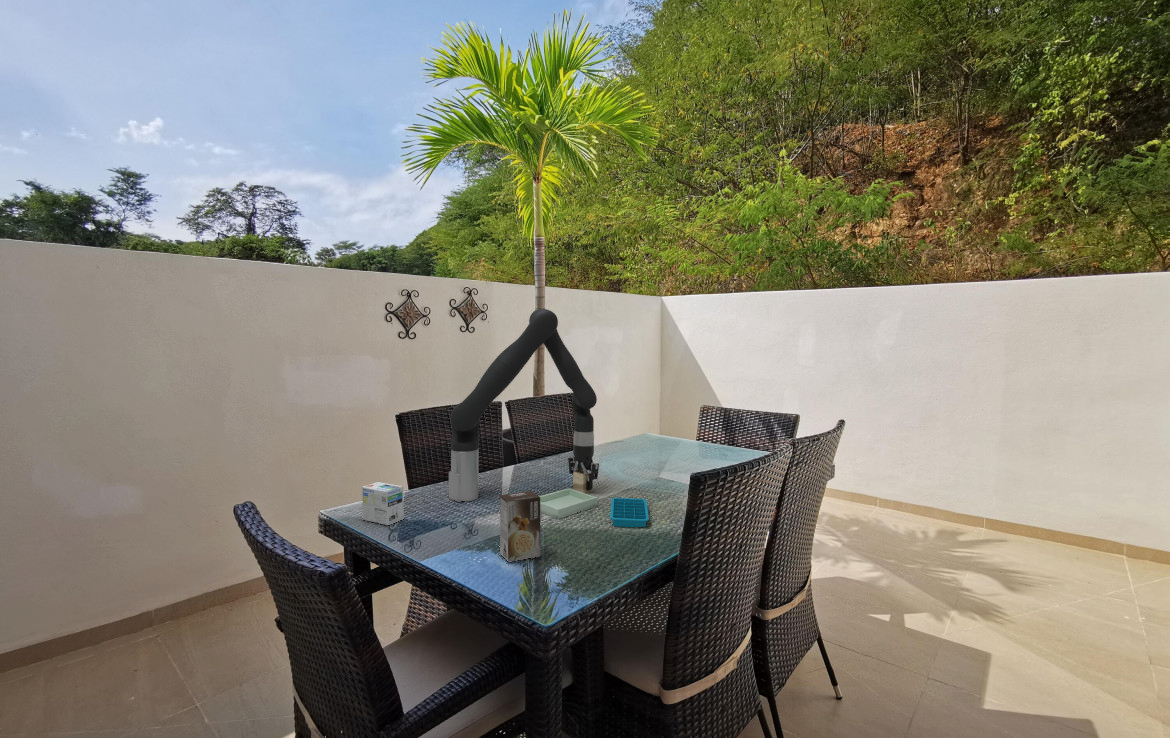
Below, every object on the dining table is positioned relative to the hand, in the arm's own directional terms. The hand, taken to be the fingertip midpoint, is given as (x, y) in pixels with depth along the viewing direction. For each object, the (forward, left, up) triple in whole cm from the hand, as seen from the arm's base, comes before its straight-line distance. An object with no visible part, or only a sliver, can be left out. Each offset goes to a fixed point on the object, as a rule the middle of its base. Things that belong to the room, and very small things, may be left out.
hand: (582, 488), depth 193 cm
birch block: (0, 0, -1) cm, 1 cm away
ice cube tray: (-7, -28, -2) cm, 29 cm away
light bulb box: (-66, +20, -1) cm, 69 cm away
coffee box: (-51, -28, -1) cm, 58 cm away
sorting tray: (-17, -8, -1) cm, 19 cm away
